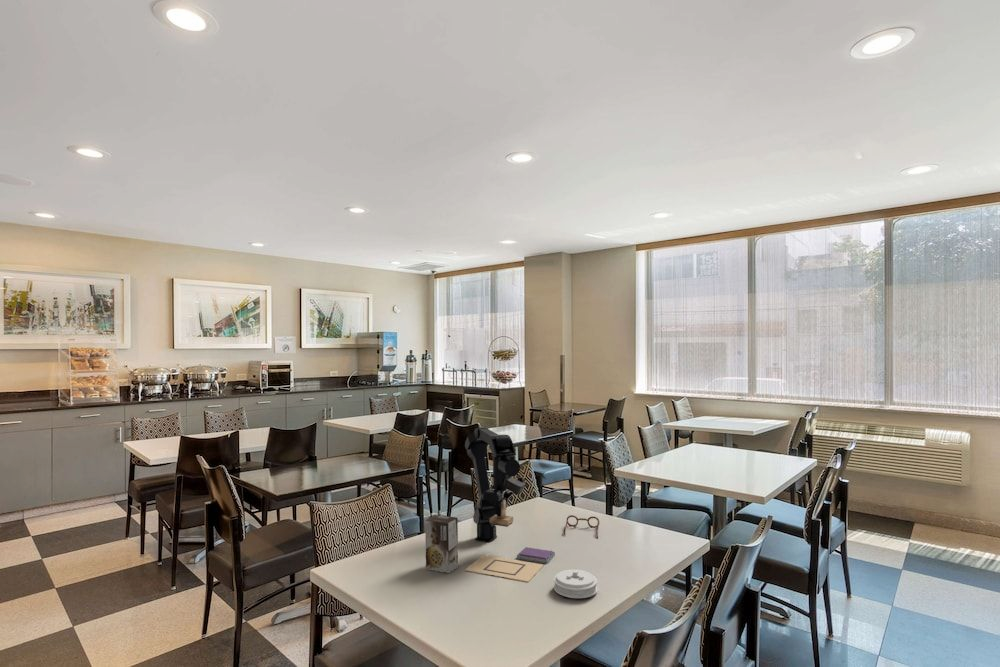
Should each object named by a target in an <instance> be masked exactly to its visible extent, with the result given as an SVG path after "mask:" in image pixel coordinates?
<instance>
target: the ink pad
mask: <svg viewBox="0 0 1000 667" xmlns="http://www.w3.org/2000/svg"><path fill="white" fill-rule="evenodd" d="M555 556H556V553H555V551H552V550H547V549H540V548H534V547H524V548H523V549H522V550H521V551H520V552H519V553H518V554H516V560H520V561H527V560H528V561H527V562H532V563H535V562H536V563H539V562H540V563H539V564H542V563H543V564H546V563H547V564H549V563H550V561H551V560H552V559H553V558H554V557H555Z"/></svg>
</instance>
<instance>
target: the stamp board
mask: <svg viewBox="0 0 1000 667" xmlns="http://www.w3.org/2000/svg"><path fill="white" fill-rule="evenodd" d="M544 566H545V565H544V564H542V563H537V562H536V563H535V562H531V561H525V560H519V559H510V558H505V557H500V556H492V555H488V554H483V555H482V556H481V557H480V558H478V559H476V561H474V562H473V563H472V564H471V565H469V566H468V567H467V568H466V569H464V572H469V571H470V572H469V573H474V572H475V573H476V574H480V573H481V574H482V575H485V574H488V575H487V576H491V575H494V576H493V577H496V576H499V577H498V578H502V577H504V578H503V579H507V578H508V580H513V579H514V581H518V580H519V582H524V581H525V583H529V582H530V581H532V578H534V577H535V576H536V575H537V573H538V572H539V571H540V570H541V569H542V568H543V567H544ZM535 574H536V575H535ZM534 575H535V576H534Z"/></svg>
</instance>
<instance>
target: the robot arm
mask: <svg viewBox="0 0 1000 667" xmlns="http://www.w3.org/2000/svg"><path fill="white" fill-rule="evenodd" d="M464 448H465V450H466V452H467V456H469V458H470V459H471V460H472V464H473V469H474V475H475V480H476V486H477V493H478V499H477V502H476V505H475V508H476V509H475V511H474V513H473V515H472V518H473V522H474V523H475V524H476V537H475V538H474V540H475V541H482V542H492V541H494V539H496V538H497V537H498V535H497V525H490V518H491V517H492V516H494V515H495V514H496V515H497V516H499V517H500V516H501V512H502V503H503V501H504V500H506V509H507V507H508V503H509V500H510V498H511V497H512V496H513V495H514V494H515V495H517V496H519V495H520V494H522V493H523V492H524V488H525V487H526V482H525V481H526V480H525V478H524V477H523V476H520V477H518V478H513V477H515V476H517V475H518V474H519V473H520V471H521V465H520V462H519V461H518V460H516V457H515V456H516V455H517V454H516V447H515V445H514V443H513V441H512V438H511V436H510V435H509V434H498V433H496V432H494V431H492V430H490V429H489V428H488V427H486V426H485V427H483V426H482V427H476V428H475V429H474V431H473V432H471V433H470V434H469V435H467V437H466V440H465V442H464ZM488 448H489V449H490V451H491V456H492V473H491V474H490V477H491V478H492V485H490V482H489V481H490V480H489V475H488V470H487V465H486V464H487V463H486V459H485V457H486V455H487V451H488Z"/></svg>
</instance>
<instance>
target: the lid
mask: <svg viewBox="0 0 1000 667" xmlns="http://www.w3.org/2000/svg"><path fill="white" fill-rule="evenodd" d="M553 581H554V585H553V589H554V591H555V592H556V593H557V594H558V595H561V596H563V597H566V598H570V599H586V598H590V597H593V596H595V595H596V594H597V592H598V587H597V584H598V579H597V578H596V577H595V576H594V575H593V574H592V573H591V572H589V571H586V570H584V569H583V570H582V569H566V570H565V569H564V570H562V571H559V572H558V573H556V574H555V576H553Z"/></svg>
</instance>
